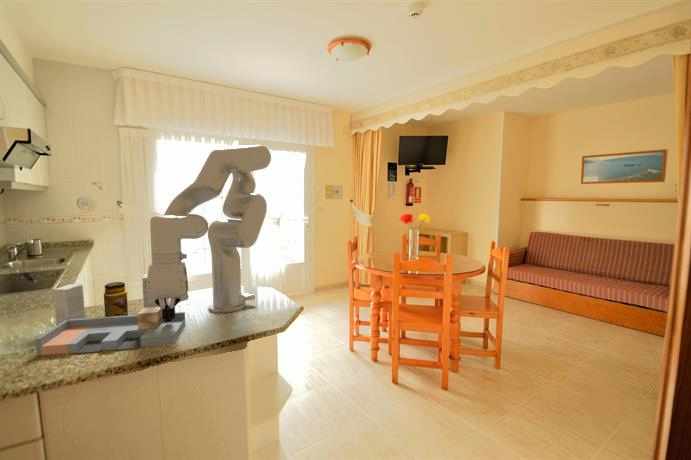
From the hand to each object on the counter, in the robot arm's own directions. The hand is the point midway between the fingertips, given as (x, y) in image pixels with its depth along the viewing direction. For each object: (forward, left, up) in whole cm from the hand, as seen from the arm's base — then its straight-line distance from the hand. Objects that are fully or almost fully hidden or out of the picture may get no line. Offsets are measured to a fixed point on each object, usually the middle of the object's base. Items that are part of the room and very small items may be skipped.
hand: (169, 320), depth 96 cm
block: (+5, -1, -1) cm, 5 cm away
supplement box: (+3, -23, -4) cm, 23 cm away
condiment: (+15, -18, -4) cm, 24 cm away
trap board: (+12, 0, -4) cm, 12 cm away
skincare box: (+26, -20, -4) cm, 33 cm away
